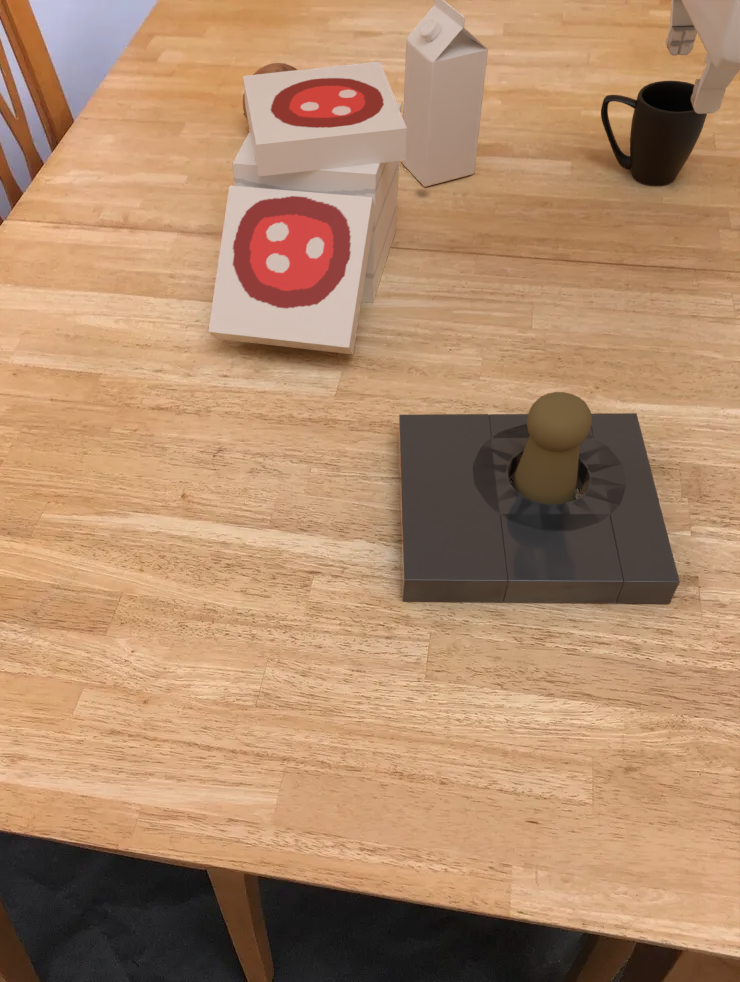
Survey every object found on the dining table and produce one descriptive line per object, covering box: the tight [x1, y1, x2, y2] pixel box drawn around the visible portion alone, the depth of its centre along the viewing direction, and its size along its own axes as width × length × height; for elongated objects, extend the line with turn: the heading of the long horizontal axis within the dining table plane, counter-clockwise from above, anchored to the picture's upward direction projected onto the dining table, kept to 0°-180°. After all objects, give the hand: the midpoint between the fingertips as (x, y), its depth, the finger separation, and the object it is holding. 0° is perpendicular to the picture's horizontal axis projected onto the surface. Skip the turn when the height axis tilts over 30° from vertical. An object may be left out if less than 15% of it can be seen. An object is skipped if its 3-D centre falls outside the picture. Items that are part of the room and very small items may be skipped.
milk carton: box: [400, 0, 489, 188], centre depth 112 cm, size 7×7×19 cm
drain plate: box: [397, 412, 681, 605], centre depth 82 cm, size 22×20×3 cm
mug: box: [600, 80, 708, 187], centre depth 113 cm, size 8×12×10 cm
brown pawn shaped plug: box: [510, 391, 592, 504], centre depth 80 cm, size 6×6×11 cm
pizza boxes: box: [207, 60, 407, 355], centre depth 98 cm, size 19×30×18 cm, turn 166°
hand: (689, 79), depth 70 cm, fingers open, 8 cm apart
